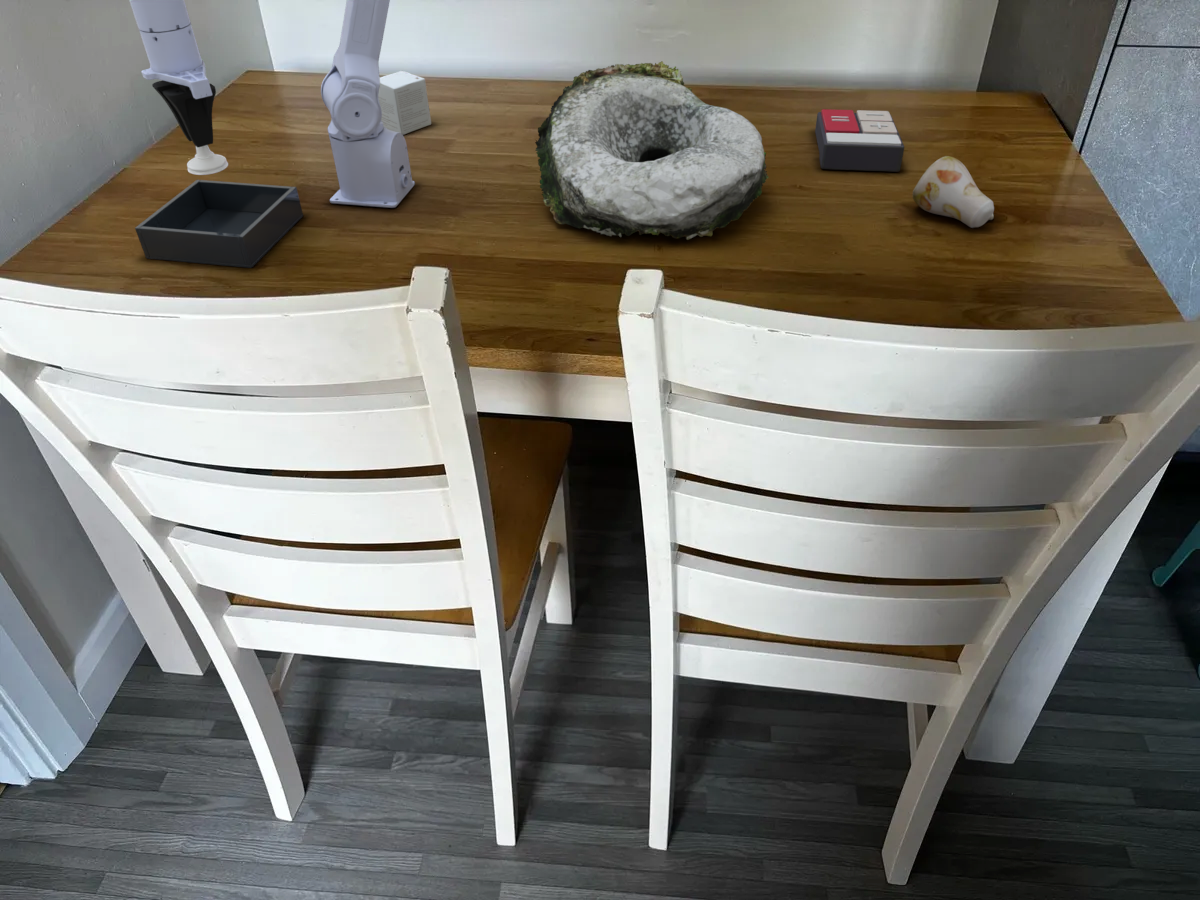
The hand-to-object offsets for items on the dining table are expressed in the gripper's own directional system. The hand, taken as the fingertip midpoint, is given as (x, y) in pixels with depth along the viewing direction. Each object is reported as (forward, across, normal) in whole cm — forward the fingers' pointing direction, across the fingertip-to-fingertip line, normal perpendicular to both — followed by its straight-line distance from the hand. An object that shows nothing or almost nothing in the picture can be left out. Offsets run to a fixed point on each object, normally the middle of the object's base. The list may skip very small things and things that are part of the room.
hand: (200, 141), depth 113 cm
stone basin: (+11, +33, +46) cm, 58 cm away
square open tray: (+10, +5, -2) cm, 12 cm away
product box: (+11, -13, +35) cm, 39 cm away
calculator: (+11, +40, +80) cm, 90 cm away
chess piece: (+3, 0, 0) cm, 3 cm away
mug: (+11, +62, +72) cm, 96 cm away
